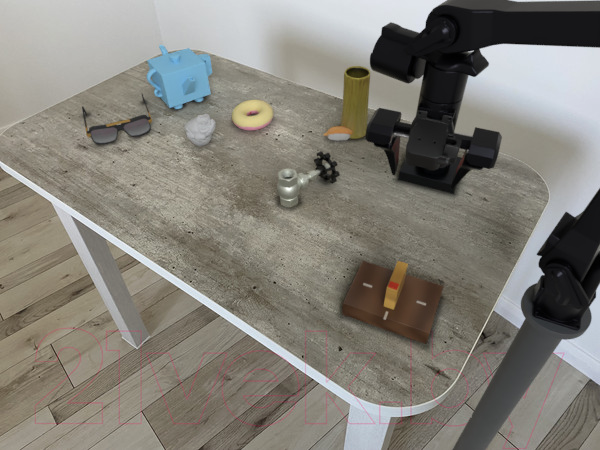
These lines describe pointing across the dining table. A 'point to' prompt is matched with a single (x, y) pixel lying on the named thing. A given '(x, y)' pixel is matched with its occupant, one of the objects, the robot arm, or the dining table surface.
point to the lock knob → (395, 285)
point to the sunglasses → (119, 128)
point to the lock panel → (409, 308)
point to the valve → (304, 179)
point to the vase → (356, 100)
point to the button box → (430, 176)
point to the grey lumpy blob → (200, 129)
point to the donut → (252, 122)
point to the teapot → (180, 76)
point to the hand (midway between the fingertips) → (422, 180)
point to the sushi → (338, 133)
